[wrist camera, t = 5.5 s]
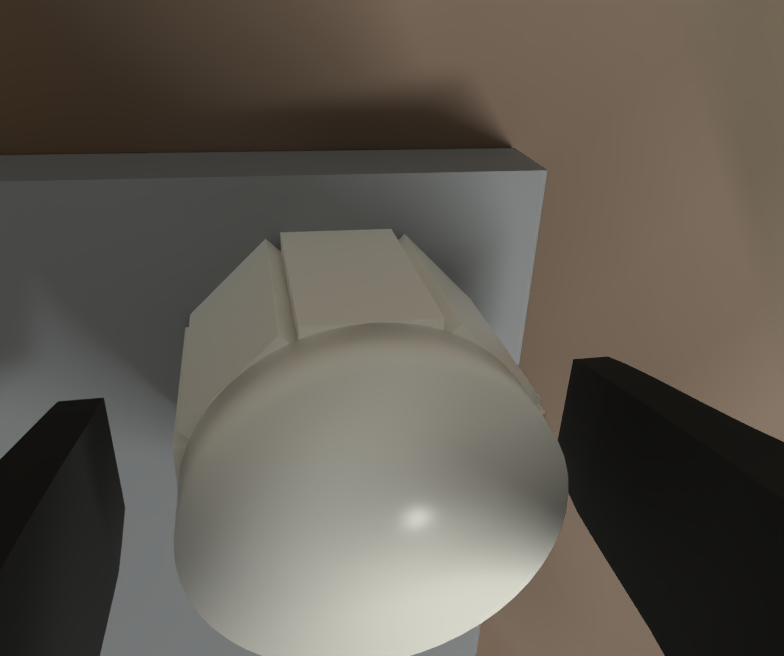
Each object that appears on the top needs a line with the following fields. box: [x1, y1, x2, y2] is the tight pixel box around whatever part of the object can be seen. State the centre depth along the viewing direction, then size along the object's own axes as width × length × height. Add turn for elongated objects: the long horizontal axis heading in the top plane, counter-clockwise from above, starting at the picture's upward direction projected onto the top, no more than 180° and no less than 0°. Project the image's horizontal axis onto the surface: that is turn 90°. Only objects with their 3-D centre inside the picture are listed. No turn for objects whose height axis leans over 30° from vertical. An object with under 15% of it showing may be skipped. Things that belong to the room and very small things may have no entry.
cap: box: [172, 229, 568, 656], centre depth 10 cm, size 5×5×4 cm
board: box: [0, 148, 547, 656], centre depth 12 cm, size 13×13×4 cm
